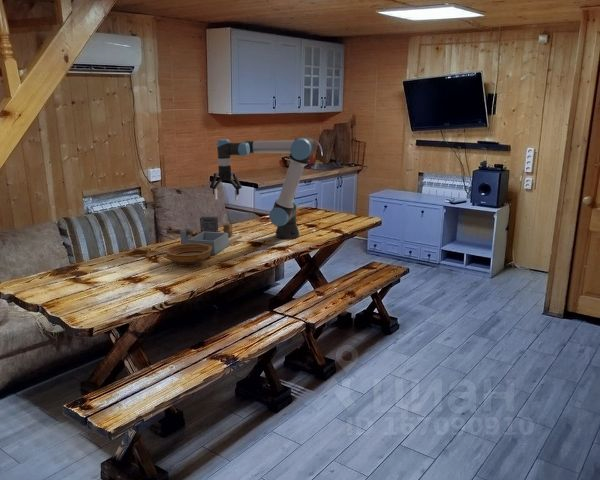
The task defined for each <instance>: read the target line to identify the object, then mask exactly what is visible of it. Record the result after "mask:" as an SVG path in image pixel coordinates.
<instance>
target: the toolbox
mask: <svg viewBox="0 0 600 480" xmlns="http://www.w3.org/2000/svg"><path fill="white" fill-rule="evenodd" d="M184 230H191V228H187V227H186V228H184ZM179 236H180V238H179V239H180V244H188V243H199V244H206V245H211V246H212V247H213V248H212V250H211V253H210V255H209V256H216V255H217V254H219V253H220V252H222V251H223V250H225V249H227V248H229V238H228V233H224V232H219V231H218V232H205V231H203V232H202V233H201V232H199V233H198V234H196V235H195V236H193V237H192V234H191V235H186V231H180V234H179Z"/></svg>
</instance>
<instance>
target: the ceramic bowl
mask: <svg viewBox="0 0 600 480" xmlns="http://www.w3.org/2000/svg"><path fill="white" fill-rule="evenodd" d="M212 248H213V247H212V246H211V245H206V244H199V243H188V244H181V243H180V244H175V245H172V246H169V247H167V248H165V251H164V252H165V254H166V255H163V259H166V260H169V261H171V262H173V263H175V264H178V265H179V266H181V267H194V266H198V265H200V264H201V262H203V261H206V260H207V259H208V258H210V256H211V255H210V253H211V250H212Z"/></svg>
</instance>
